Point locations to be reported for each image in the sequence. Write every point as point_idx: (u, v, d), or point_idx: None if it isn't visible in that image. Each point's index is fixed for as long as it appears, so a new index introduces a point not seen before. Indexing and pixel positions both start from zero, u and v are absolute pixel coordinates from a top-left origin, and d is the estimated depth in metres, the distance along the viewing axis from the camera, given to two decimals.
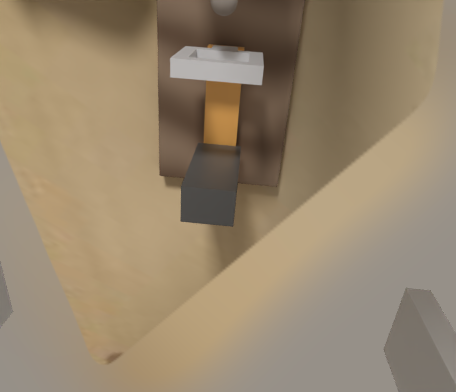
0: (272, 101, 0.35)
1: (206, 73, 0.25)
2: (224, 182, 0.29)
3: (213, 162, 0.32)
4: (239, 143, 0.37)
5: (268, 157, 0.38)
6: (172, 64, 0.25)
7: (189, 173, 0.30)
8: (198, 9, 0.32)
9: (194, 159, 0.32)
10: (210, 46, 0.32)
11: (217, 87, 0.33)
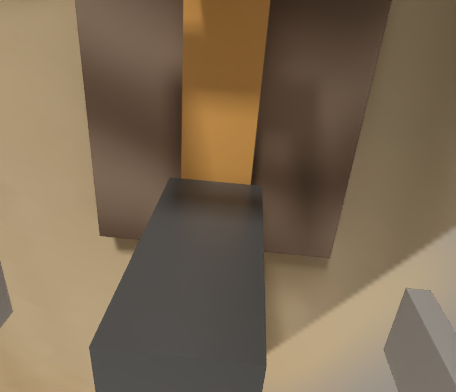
0: (331, 87, 0.16)
1: None
2: (227, 316, 0.10)
3: (199, 234, 0.13)
4: (257, 176, 0.18)
5: (315, 204, 0.18)
6: None
7: (129, 281, 0.11)
8: None
9: (153, 227, 0.13)
10: None
11: (209, 53, 0.14)
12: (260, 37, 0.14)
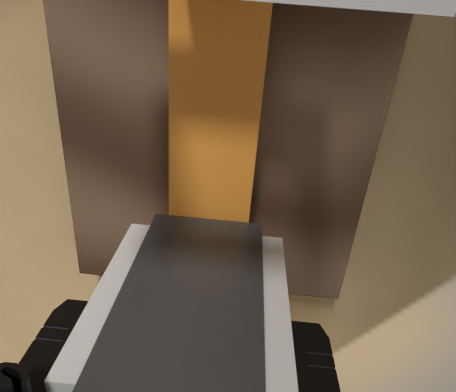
0: (342, 112, 0.14)
1: None
2: None
3: (186, 293, 0.11)
4: (256, 210, 0.16)
5: (322, 240, 0.16)
6: None
7: (95, 367, 0.08)
8: None
9: (131, 284, 0.11)
10: None
11: (200, 74, 0.12)
12: (259, 56, 0.12)
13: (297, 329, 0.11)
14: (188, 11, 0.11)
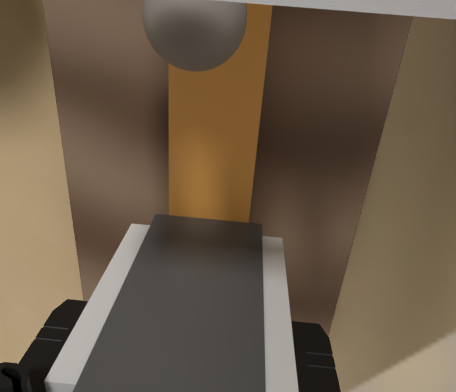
0: (317, 229, 0.16)
1: None
2: None
3: (185, 294, 0.11)
4: None
5: None
6: None
7: (95, 368, 0.08)
8: (146, 33, 0.13)
9: (131, 284, 0.11)
10: None
11: (200, 74, 0.12)
12: (260, 56, 0.12)
13: (297, 329, 0.11)
14: None
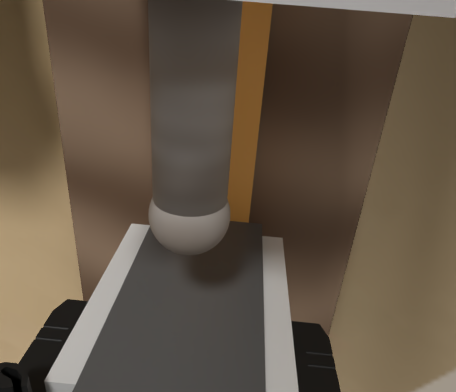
0: (302, 301, 0.18)
1: None
2: None
3: (185, 294, 0.11)
4: None
5: None
6: None
7: (95, 368, 0.08)
8: (149, 145, 0.15)
9: (131, 284, 0.11)
10: None
11: None
12: (260, 56, 0.12)
13: (297, 329, 0.11)
14: None
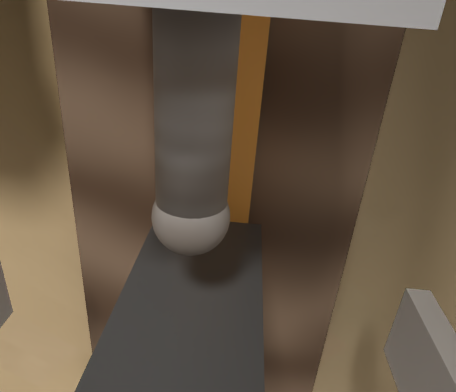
0: (301, 302, 0.18)
1: None
2: None
3: (187, 292, 0.11)
4: None
5: (290, 380, 0.21)
6: None
7: (99, 362, 0.09)
8: (151, 148, 0.15)
9: (133, 282, 0.11)
10: None
11: None
12: (259, 61, 0.12)
13: None
14: None
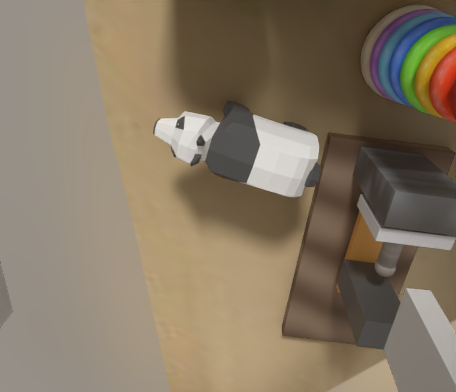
0: None
1: (407, 239, 0.30)
2: None
3: (371, 286, 0.37)
4: None
5: None
6: (380, 231, 0.30)
7: (362, 303, 0.35)
8: (340, 234, 0.41)
9: (354, 283, 0.37)
10: None
11: None
12: None
13: None
14: None
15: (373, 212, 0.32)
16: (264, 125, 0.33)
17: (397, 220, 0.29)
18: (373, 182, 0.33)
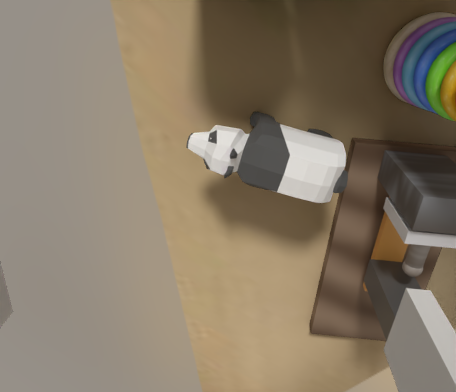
0: None
1: (435, 241, 0.31)
2: None
3: (399, 285, 0.38)
4: None
5: None
6: (409, 235, 0.31)
7: (391, 302, 0.36)
8: (365, 235, 0.43)
9: (382, 283, 0.39)
10: None
11: None
12: None
13: None
14: None
15: (400, 215, 0.33)
16: (292, 135, 0.34)
17: (425, 224, 0.30)
18: (399, 186, 0.34)
